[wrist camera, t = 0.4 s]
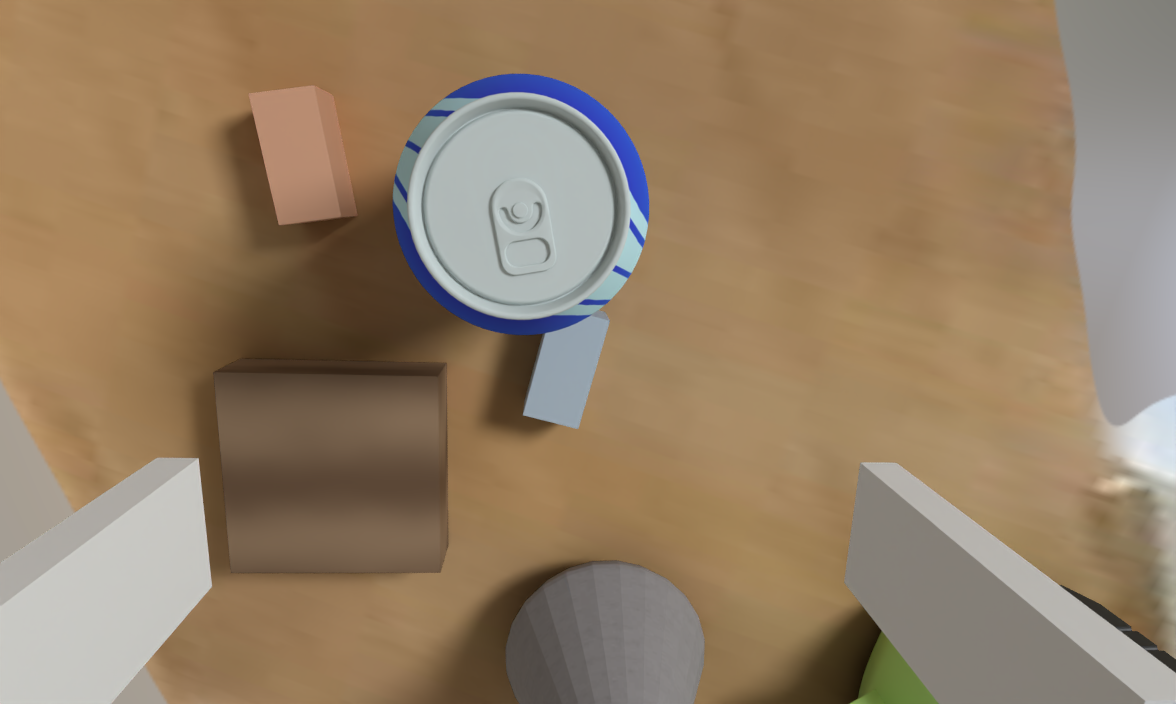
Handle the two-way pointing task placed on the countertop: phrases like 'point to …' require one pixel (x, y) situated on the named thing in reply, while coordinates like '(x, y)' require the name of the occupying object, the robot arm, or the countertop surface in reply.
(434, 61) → the countertop surface
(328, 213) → the terracotta brick
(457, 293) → the beer can
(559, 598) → the coffee pot
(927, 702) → the teapot
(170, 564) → the robot arm
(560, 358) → the greyblue brick
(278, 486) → the walnut slab
